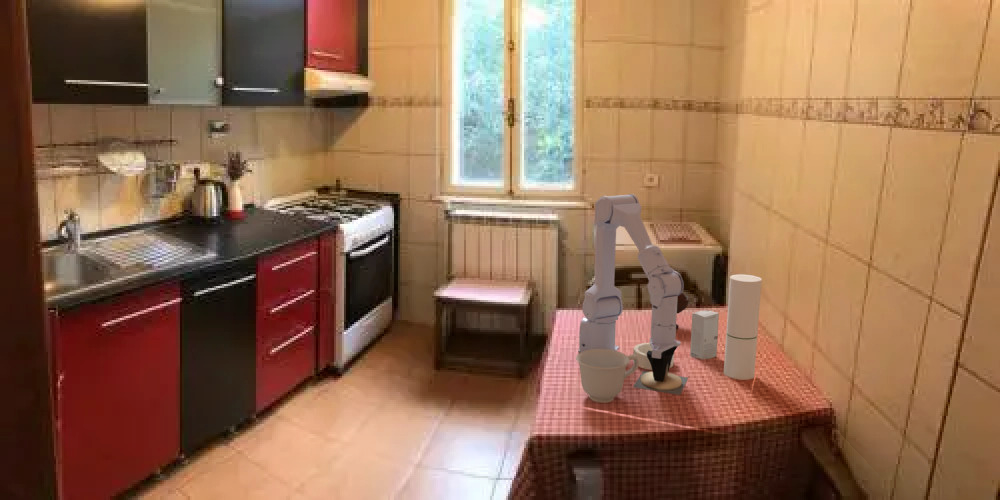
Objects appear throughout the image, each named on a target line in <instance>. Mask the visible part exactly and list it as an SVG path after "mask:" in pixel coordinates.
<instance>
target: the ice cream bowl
mask: <svg viewBox="0 0 1000 500" xmlns="http://www.w3.org/2000/svg"><path fill="white" fill-rule="evenodd" d="M689 301H690V296H689V295H686V294H685V293H684V292H682V293H681V294H680V295H678V297H677V314H680V313H682V312H683V311H684V310H686V309H687V307H688V305H689ZM678 327H679V324H677V323H676V330H678V329H679V328H678Z"/></svg>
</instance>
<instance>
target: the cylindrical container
mask: <svg viewBox="0 0 1000 500" xmlns="http://www.w3.org/2000/svg"><path fill="white" fill-rule="evenodd" d="M762 281H763V279H762V278H761V277H759V276H756V275H752V274H743V273H740V274H732V275H730V276H729V286H728V287H729V289H728V300H727V301H728V302H727V317H726V319H727V321H726V334H725V350H724V364H723V374H724V375H725V377H728V378H731V379H733V380H741V381H742V380H746V381H747V380H752V379H753V380H754V379H755V374H756V373H755V372H756V371H755V370H756V360H757V359H756V357H757V356H756V355H757V343H758V333H759V332H758V330H759V319H760V318H759V317H760V305H761V292H762Z"/></svg>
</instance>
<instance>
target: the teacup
mask: <svg viewBox="0 0 1000 500" xmlns="http://www.w3.org/2000/svg"><path fill="white" fill-rule="evenodd" d="M575 360H576V361H577V363H578V366H579V373H580V383H581V386H582V389H583V392H585V394H587V395H589V399H590V400H591V401H593V402H595V403H604V404H605V403H610V402H612V401H614V400H615V397H616V396H618V395H620V393H621V392H622V389H623V387H624V381H625V379H626V378H627V377H629V376H631V375H633V374H634V373H635V372H636V371H637V370H638V368H639V367H638V365H639V362H638V358H637V357H636V356H635V355H633V354H628V355H626V354H625V353H623V352H621V351H619V350H617V351H615V350H609V349H591V350H586V351H583V352H578V354H577V355H576V356H575ZM631 360H632V361H633V360H634V363H633V365H632V366H631V367H630V368H629V369H628V370H627V369H626V368H627V367H628V366H629V365H630V362H631Z"/></svg>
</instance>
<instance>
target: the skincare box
mask: <svg viewBox="0 0 1000 500" xmlns="http://www.w3.org/2000/svg"><path fill="white" fill-rule="evenodd" d="M691 314H692V315H691V332H690V333H691V334H690V351H689V353H690V354H689V356H690V357H692V358H697V359H699V360H710V359H712V358H716V357H717V356H718V354H717V353H718V341H719V340H718V338H719V317H720V313H719V312H717V311H712V310H708V309H705V310H699V311H696V312H692V313H691Z"/></svg>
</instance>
